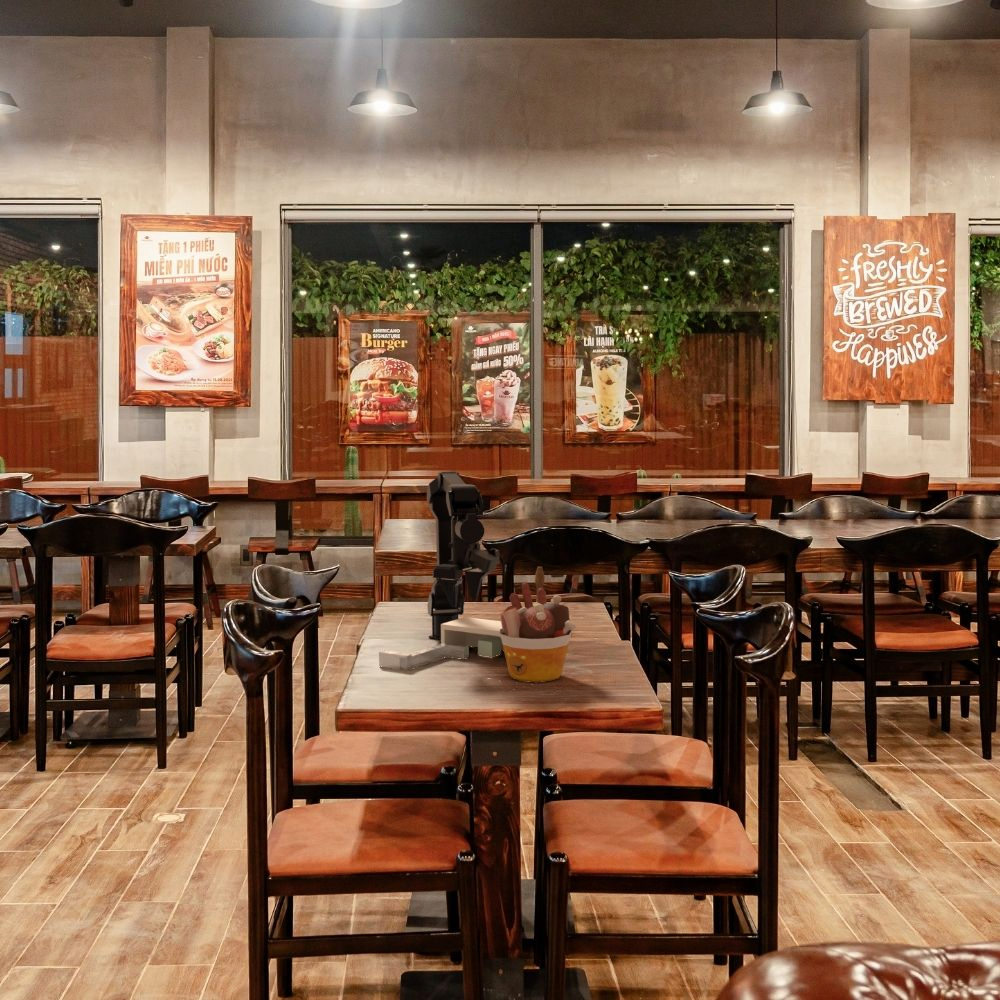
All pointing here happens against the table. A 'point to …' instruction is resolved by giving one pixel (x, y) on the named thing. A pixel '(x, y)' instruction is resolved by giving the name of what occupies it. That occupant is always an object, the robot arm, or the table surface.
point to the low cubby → (470, 631)
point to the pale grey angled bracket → (421, 656)
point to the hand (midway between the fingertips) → (464, 603)
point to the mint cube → (489, 647)
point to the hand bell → (539, 580)
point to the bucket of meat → (535, 636)
